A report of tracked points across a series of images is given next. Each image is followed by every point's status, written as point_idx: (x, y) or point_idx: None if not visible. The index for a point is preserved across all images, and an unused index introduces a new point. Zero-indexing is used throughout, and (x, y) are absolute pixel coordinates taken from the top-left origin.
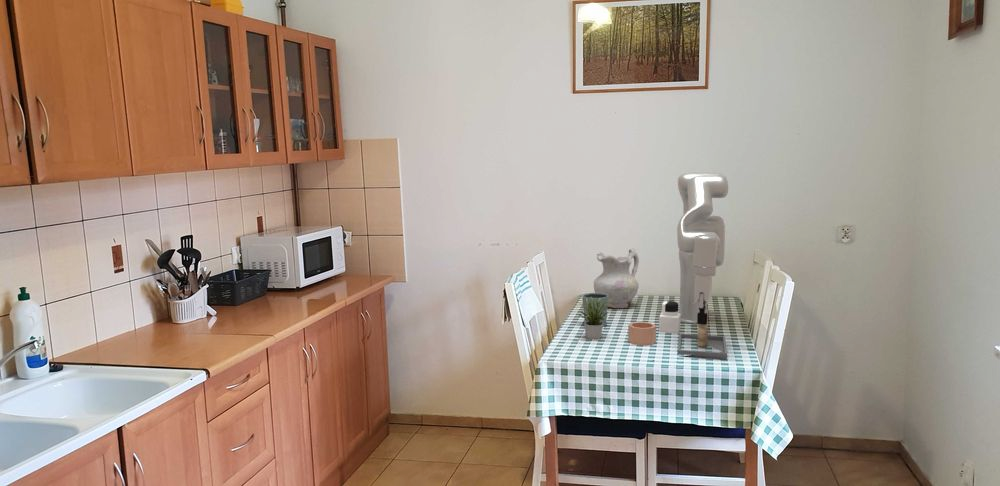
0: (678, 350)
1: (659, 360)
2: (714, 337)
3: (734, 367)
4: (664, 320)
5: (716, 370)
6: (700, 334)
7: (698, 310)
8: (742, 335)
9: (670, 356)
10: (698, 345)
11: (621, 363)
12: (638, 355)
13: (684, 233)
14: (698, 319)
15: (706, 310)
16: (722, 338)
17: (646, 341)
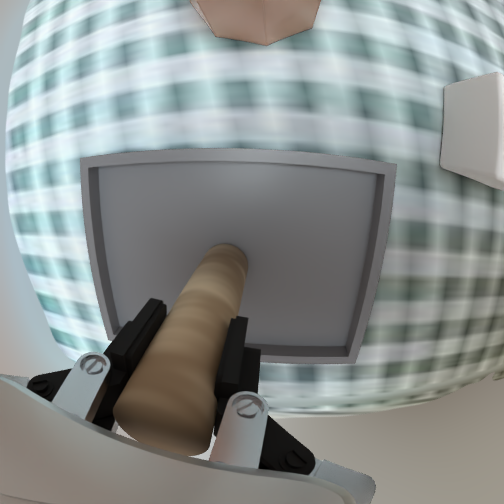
0: (80, 162)
1: (53, 105)
2: (355, 325)
3: (69, 329)
4: (485, 98)
5: (31, 280)
6: (187, 282)
7: (75, 369)
8: (423, 384)
9: (95, 129)
10: (209, 249)
11: (34, 24)
12: (96, 25)
13: None
14: (137, 321)
15: (111, 422)
16: (347, 350)
17: (194, 4)
